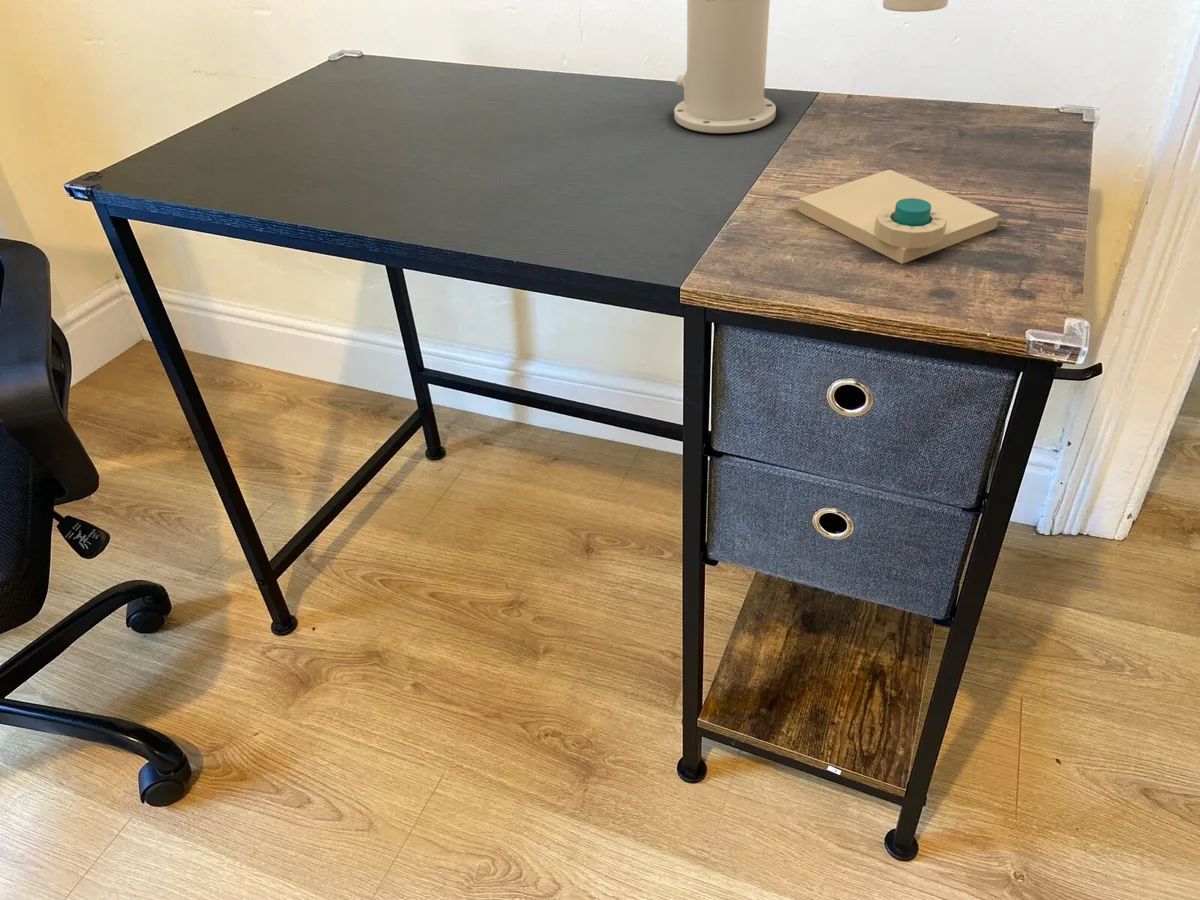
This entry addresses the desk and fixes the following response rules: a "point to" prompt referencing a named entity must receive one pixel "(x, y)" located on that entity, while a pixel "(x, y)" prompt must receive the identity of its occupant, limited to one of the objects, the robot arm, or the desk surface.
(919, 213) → the button
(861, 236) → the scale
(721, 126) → the robot arm
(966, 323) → the desk surface
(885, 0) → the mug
